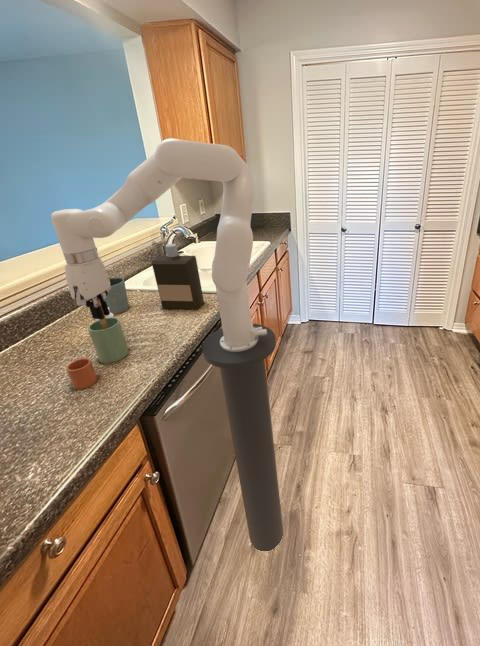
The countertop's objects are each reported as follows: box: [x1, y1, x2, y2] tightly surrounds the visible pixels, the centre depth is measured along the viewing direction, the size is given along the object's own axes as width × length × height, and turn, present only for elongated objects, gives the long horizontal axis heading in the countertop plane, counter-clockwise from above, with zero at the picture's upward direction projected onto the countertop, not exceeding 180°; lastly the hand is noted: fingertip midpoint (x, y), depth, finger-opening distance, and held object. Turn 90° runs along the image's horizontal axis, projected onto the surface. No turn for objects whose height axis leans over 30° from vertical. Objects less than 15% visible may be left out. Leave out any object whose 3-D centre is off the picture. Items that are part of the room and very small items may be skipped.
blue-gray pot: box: [106, 276, 130, 315], centre depth 127 cm, size 10×10×12 cm
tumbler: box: [87, 316, 130, 364], centre depth 97 cm, size 8×8×11 cm
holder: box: [65, 357, 98, 390], centre depth 87 cm, size 6×6×6 cm
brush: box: [96, 298, 109, 329], centre depth 95 cm, size 3×3×17 cm
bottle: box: [150, 243, 205, 310], centre depth 125 cm, size 8×16×25 cm, turn 82°
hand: (101, 316), depth 94 cm, fingers closed on brush
